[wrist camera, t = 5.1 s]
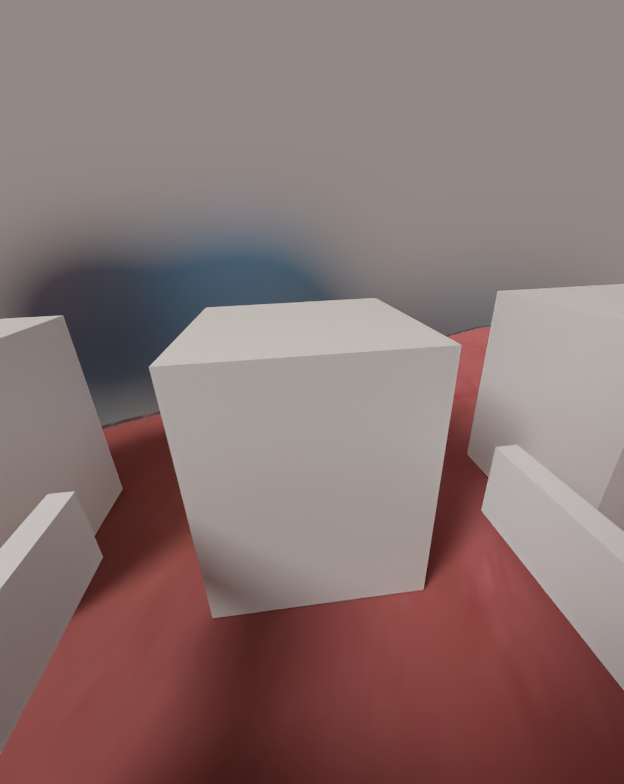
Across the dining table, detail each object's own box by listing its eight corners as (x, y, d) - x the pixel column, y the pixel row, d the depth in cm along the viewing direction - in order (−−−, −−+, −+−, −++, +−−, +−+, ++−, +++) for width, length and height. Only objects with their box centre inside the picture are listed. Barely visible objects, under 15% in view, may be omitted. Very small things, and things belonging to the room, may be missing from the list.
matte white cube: (585, 442, 24) (643, 282, 20) (747, 545, 16) (910, 313, 11) (466, 454, 23) (497, 291, 19) (572, 569, 15) (672, 329, 11)
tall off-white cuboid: (368, 464, 23) (375, 298, 18) (423, 589, 15) (461, 345, 10) (234, 477, 22) (205, 307, 17) (212, 618, 14) (148, 366, 9)
